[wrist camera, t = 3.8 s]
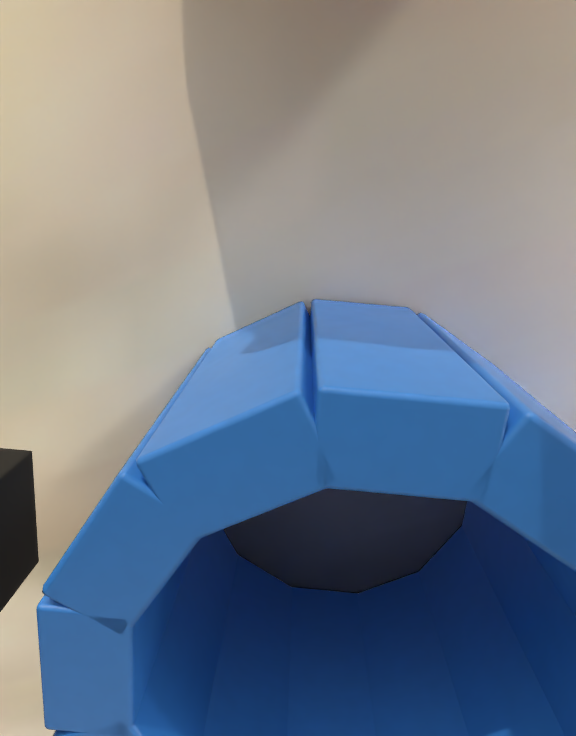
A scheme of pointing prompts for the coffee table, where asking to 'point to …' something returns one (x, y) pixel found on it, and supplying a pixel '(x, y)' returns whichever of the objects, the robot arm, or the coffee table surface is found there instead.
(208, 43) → the coffee table surface
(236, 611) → the tape roll
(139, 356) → the coffee table surface
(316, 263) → the coffee table surface
